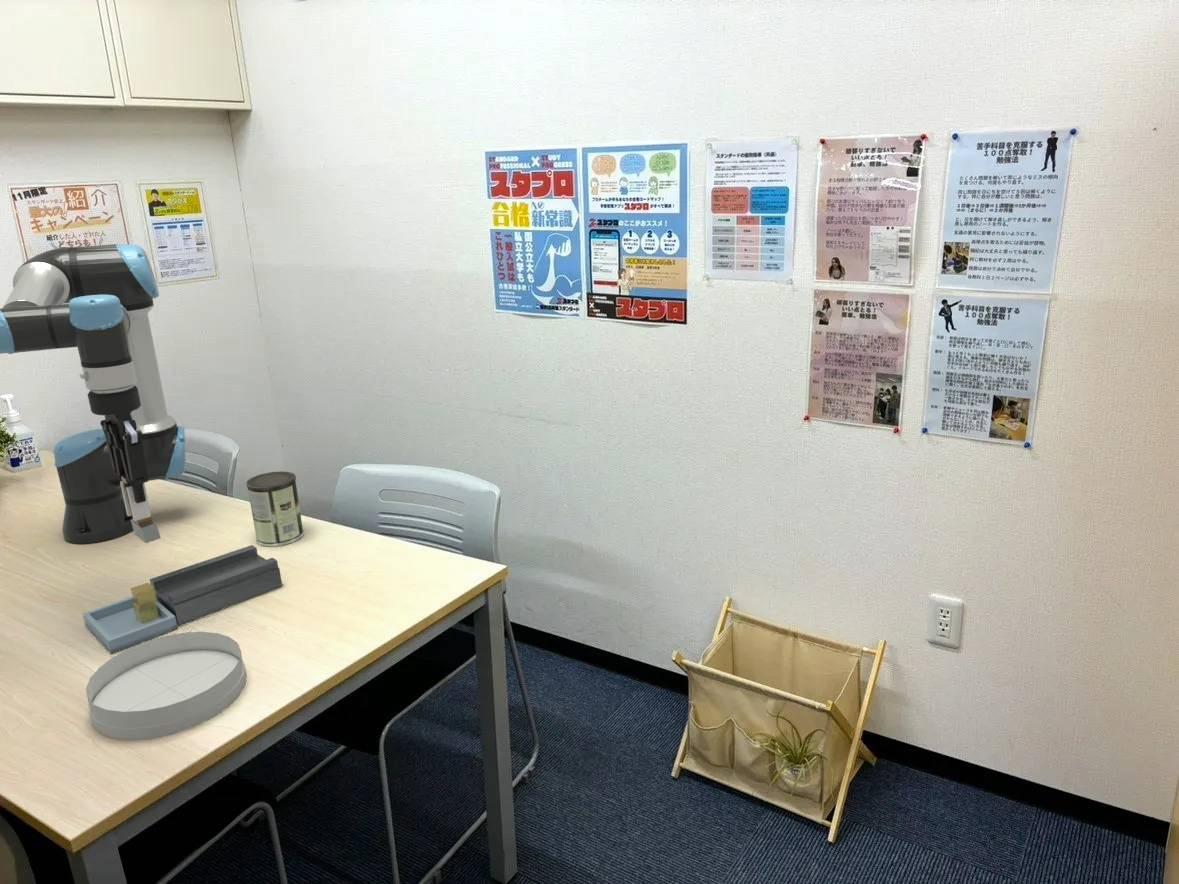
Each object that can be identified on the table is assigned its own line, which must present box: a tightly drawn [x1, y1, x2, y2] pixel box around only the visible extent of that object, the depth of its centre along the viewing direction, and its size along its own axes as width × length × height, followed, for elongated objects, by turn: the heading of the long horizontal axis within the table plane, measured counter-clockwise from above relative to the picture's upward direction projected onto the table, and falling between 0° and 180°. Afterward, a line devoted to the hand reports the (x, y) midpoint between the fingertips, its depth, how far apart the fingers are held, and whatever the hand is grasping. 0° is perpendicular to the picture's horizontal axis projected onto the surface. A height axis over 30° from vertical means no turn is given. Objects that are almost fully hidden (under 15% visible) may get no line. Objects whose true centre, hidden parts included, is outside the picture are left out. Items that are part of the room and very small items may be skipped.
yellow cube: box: [130, 582, 157, 608], centre depth 149 cm, size 3×3×3 cm
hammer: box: [121, 475, 161, 544], centre depth 145 cm, size 6×2×12 cm, turn 46°
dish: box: [85, 631, 247, 741], centre depth 128 cm, size 22×22×5 cm
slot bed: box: [149, 545, 283, 627], centre depth 159 cm, size 12×20×6 cm, turn 136°
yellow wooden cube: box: [133, 603, 159, 624], centre depth 150 cm, size 3×3×3 cm
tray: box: [82, 596, 178, 655], centre depth 148 cm, size 14×11×2 cm
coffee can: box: [245, 471, 305, 547], centre depth 183 cm, size 10×10×14 cm
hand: (139, 515), depth 146 cm, fingers closed on hammer, 2 cm apart
